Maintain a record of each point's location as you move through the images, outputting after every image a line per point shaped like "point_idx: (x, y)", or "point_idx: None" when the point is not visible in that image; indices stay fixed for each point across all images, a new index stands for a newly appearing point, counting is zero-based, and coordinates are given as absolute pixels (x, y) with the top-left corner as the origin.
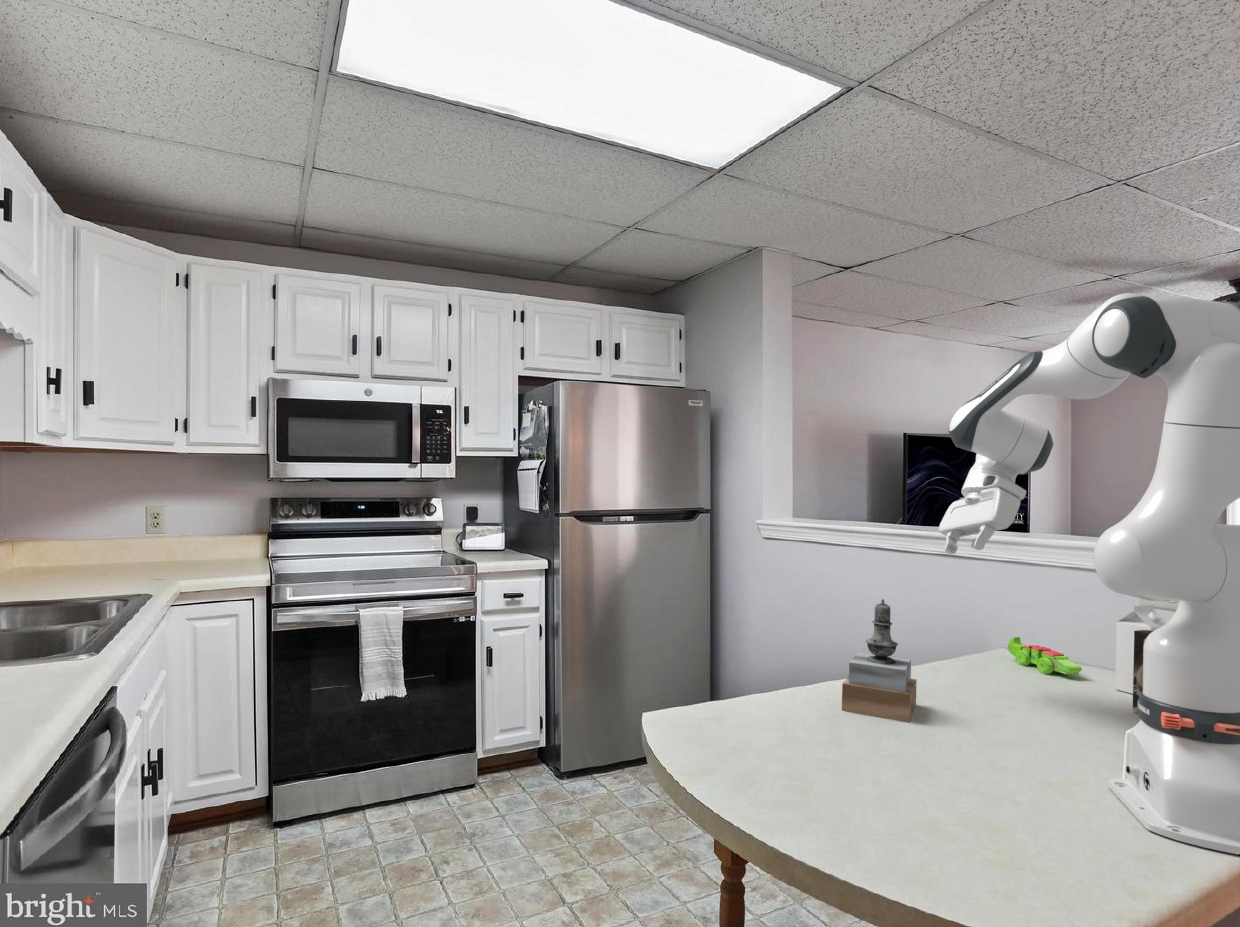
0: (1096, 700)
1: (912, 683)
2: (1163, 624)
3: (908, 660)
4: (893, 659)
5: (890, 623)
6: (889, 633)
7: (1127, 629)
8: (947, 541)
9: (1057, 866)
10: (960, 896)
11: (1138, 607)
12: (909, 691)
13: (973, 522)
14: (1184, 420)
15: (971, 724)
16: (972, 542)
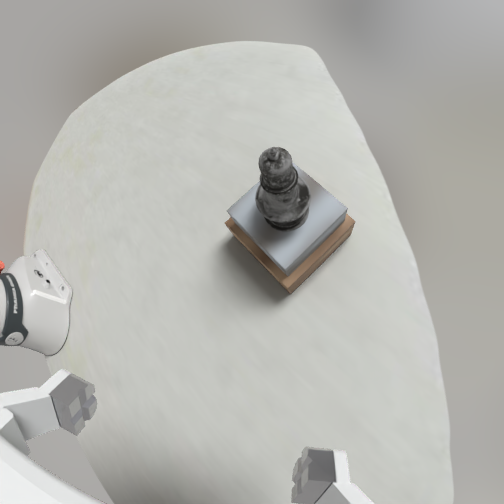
0: None
1: (269, 264)
2: None
3: (278, 258)
4: (276, 225)
5: (262, 184)
6: (267, 193)
7: None
8: (351, 492)
9: (56, 173)
10: (70, 124)
11: None
12: (235, 231)
13: (22, 463)
14: None
15: (206, 308)
16: (77, 390)
